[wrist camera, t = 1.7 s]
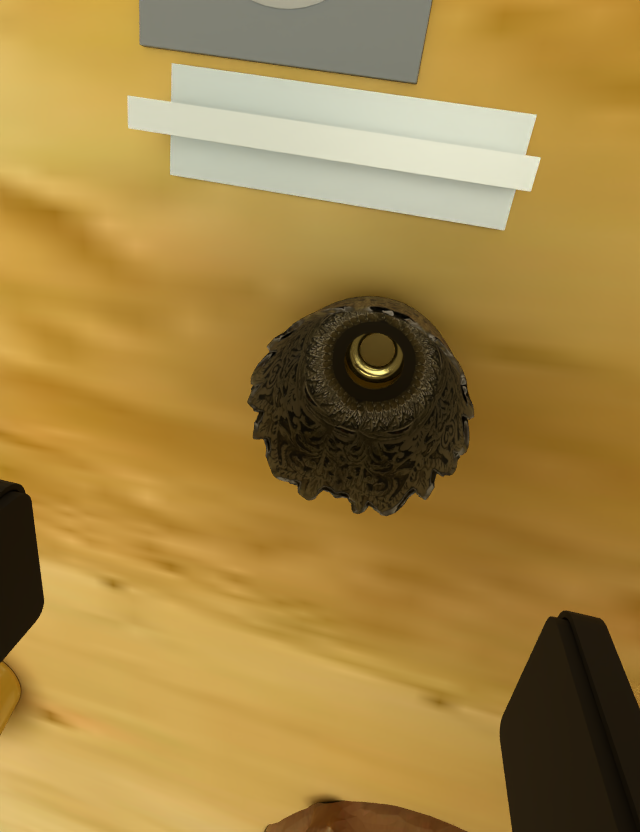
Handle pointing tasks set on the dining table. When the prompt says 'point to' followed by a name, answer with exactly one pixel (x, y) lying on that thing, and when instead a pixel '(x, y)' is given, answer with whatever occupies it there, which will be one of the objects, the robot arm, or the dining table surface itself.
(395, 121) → the low wall
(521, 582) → the dining table surface
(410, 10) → the rest pad
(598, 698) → the robot arm
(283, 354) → the ornate metal lamp shade
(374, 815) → the ashtray
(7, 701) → the plant pot
